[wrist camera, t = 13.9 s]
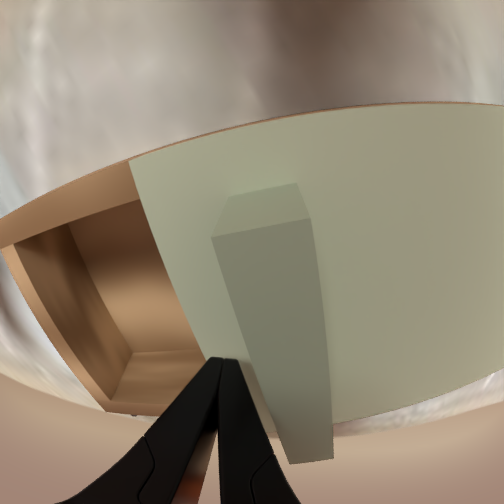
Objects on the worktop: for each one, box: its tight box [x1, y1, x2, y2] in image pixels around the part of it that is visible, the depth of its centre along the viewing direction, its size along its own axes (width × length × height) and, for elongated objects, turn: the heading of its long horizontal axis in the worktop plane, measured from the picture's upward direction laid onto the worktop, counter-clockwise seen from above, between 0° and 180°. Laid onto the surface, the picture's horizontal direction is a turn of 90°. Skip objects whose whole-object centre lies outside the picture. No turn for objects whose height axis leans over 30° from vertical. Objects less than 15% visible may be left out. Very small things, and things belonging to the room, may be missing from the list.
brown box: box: [0, 102, 502, 416], centre depth 12 cm, size 13×22×5 cm, turn 103°
